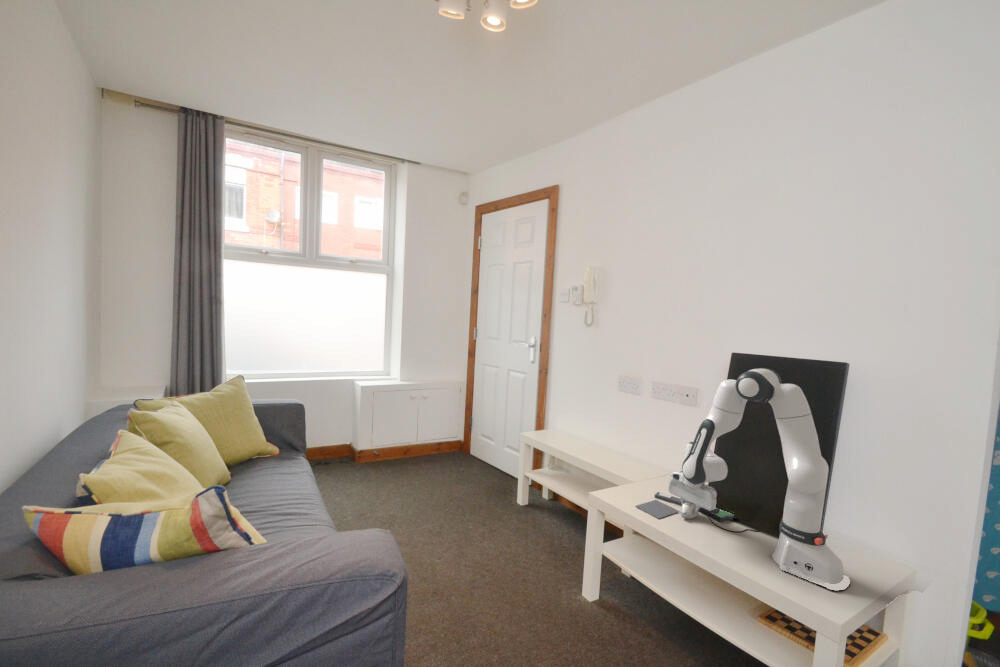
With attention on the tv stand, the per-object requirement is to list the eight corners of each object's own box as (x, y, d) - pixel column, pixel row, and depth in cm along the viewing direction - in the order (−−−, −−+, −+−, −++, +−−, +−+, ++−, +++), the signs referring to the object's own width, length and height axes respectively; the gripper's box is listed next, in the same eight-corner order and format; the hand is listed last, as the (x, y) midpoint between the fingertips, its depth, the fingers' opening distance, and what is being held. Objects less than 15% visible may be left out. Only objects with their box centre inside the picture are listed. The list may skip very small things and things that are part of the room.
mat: (679, 512, 195) (679, 511, 195) (658, 519, 187) (658, 518, 187) (655, 500, 205) (655, 499, 205) (635, 506, 197) (635, 505, 197)
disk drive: (689, 509, 201) (721, 524, 188) (690, 502, 201) (721, 517, 188) (704, 504, 206) (735, 519, 194) (704, 498, 206) (736, 512, 193)
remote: (691, 506, 204) (691, 501, 203) (689, 509, 200) (689, 504, 200) (657, 495, 212) (657, 491, 212) (654, 498, 208) (654, 494, 208)
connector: (699, 515, 194) (700, 503, 193) (684, 520, 188) (685, 509, 187) (691, 511, 196) (692, 500, 196) (676, 517, 190) (677, 505, 190)
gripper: (721, 487, 185) (717, 520, 186) (676, 469, 201) (673, 500, 202) (712, 490, 181) (708, 524, 182) (667, 472, 198) (664, 503, 199)
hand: (689, 511), depth 192 cm, fingers closed on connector, 3 cm apart
